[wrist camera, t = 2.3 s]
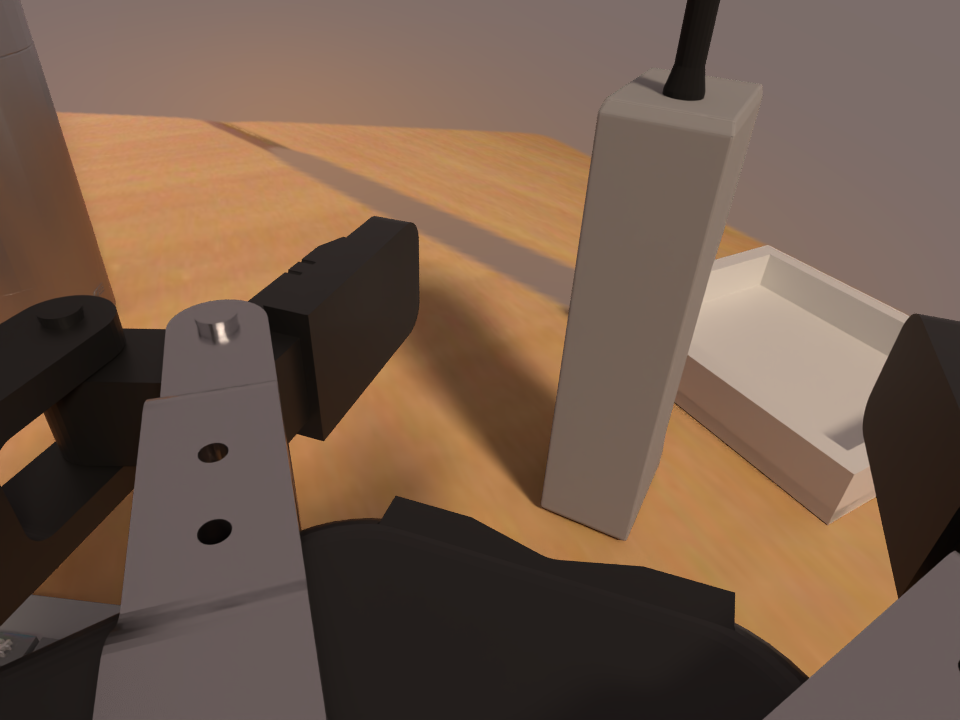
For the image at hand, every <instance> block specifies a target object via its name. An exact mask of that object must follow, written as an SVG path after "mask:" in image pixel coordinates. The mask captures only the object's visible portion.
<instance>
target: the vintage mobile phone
mask: <svg viewBox="0 0 960 720" xmlns="http://www.w3.org/2000/svg"><path fill="white" fill-rule="evenodd" d="M719 3H720V0H687V5H686V9H685V14H684V20H683V24H682V29H681V34H680V39H679V44H678V49H677V54H676V59H675V64H674V66H673V68H672V70H664V69H658V68H651V69H650V70H648V71H647V72H645V73H644V74H642V75H641V76H639V77H638V78H636V79H635V80H633V81H632V82H630V83H628V84H627V85H626V86H624V87H622V88H621V89H620V90H618V91H616V92H615V93H613V94H612V95H610V96H609V97H607V98H606V99H605V101H604V103H603V104H602V106H601V108H600V110H599V112H598V117H597V123H596V130H595V137H594V144H593V151H592V157H591V164H590V171H589V178H588V185H587V192H586V198H585V205H584V212H583V219H582V226H581V233H580V240H579V246H578V253H577V260H576V267H575V274H574V281H573V287H572V294H571V301H570V308H569V315H568V322H567V328H566V335H565V342H564V349H563V356H562V363H561V370H560V376H559V383H558V390H557V397H556V404H555V411H554V417H553V424H552V431H551V438H550V445H549V452H548V458H547V465H546V472H545V479H544V486H543V493H542V499H541V506H542V507H543V508H545V509H547V510H549V511H552V512H554V513H556V514H559V515H561V516H564V517H566V518H569V519H571V520H573V521H576V522H578V523H581V524H583V525H586V526H588V527H590V528H593V529H595V530H598V531H600V532H602V533H605V534H607V535H610V536H612V537H615V538H617V539H619V540H623V541H626V540H627V538H628V535H629V533H630V531H631V528H632V526H633V524H634V521H635V519H636V517H637V514H638V512H639V510H640V507H641V505H642V503H643V500H644V498H645V496H646V493H647V491H648V489H649V486H650V484H651V482H652V479H653V477H654V475H655V472H656V470H657V468H658V465H659V462H660V458H661V455H662V451H663V445H664V440H665V434H666V430H667V426H668V423H669V419H670V416H671V412H672V408H673V405H674V401H675V398H676V394H677V391H678V387H679V383H680V380H681V376H682V373H683V369H684V366H685V362H686V358H687V355H688V351H689V348H690V344H691V341H692V337H693V333H694V330H695V326H696V323H697V319H698V316H699V312H700V308H701V305H702V301H703V298H704V294H705V291H706V287H707V283H708V280H709V276H710V273H711V269H712V266H713V263H714V260H715V256H716V253H717V250H718V247H719V244H720V241H721V238H722V235H723V231H724V228H725V225H726V221H727V217H728V214H729V211H730V207H731V204H732V200H733V197H734V193H735V190H736V186H737V183H738V180H739V176H740V173H741V169H742V166H743V162H744V159H745V156H746V152H747V149H748V145H749V142H750V138H751V135H752V131H753V127H754V124H755V121H756V117H757V114H758V110H759V107H760V104H761V100H762V90H763V87H762V85H761V84H756V83H749V82H743V81H736V80H730V79H723V78H717V77H710V76H705V64H706V60H707V55H708V51H709V46H710V42H711V37H712V33H713V29H714V25H715V20H716V15H717V11H718V7H719Z"/></svg>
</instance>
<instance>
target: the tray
mask: <svg viewBox="0 0 960 720" xmlns="http://www.w3.org/2000/svg"><path fill="white" fill-rule="evenodd" d="M909 317H910V316H908V315H906V314H904V313H902V312H900V311H898V310H896V309H894V308H892V307H890V306H888V305H886V304H884V303H882V302H880V301H878V300H876V299H874V298H872V297H870V296H868V295H866V294H864V293H862V292H860V291H858V290H856V289H854V288H852V287H850V286H849V285H847V284H845V283H843V282H841V281H839V280H837V279H835V278H833V277H831V276H829V275H827V274H825V273H823V272H821V271H819V270H817V269H815V268H813V267H811V266H809V265H807V264H805V263H803V262H801V261H799V260H797V259H795V258H793V257H791V256H789V255H787V254H785V253H783V252H781V251H779V250H777V249H775V248H773V247H771V246H769V245H766V246H763V247H759V248H756V249H752V250H748V251H745V252H741V253H738V254H734V255H731V256H727V257H723V258H720V259H716V260H714V263H713V266H712V269H711V273H710V276H709V280H708V283H707V287H706V291H705V294H704V298H703V301H702V305H701V308H700V312H699V316H698V319H697V323H696V326H695V330H694V333H693V337H692V341H691V344H690V348H689V351H688V355H687V358H686V362H685V366H684V369H683V373H682V376H681V380H680V383H679V387H678V391H677V394H676V398H675V401H674V402H675V403H676V404H677V405H679V406H680V407H681V408H682V409H684V410H685V411H686V412H687V413H689V414H690V415H691V416H692V417H694V418H695V419H696V420H697V421H699V422H700V423H701V424H702V425H704V426H705V427H706V428H707V429H709V430H710V431H711V432H712V433H714V434H715V435H716V436H717V437H719V438H720V439H721V440H722V441H724V442H725V443H726V444H727V445H729V446H730V447H731V448H732V449H734V450H735V451H736V452H737V453H739V454H740V455H741V456H742V457H744V458H745V459H746V460H747V461H749V462H750V463H751V464H752V465H754V466H755V467H756V468H757V469H759V470H760V471H761V472H762V473H764V474H765V475H766V476H767V477H769V478H770V479H771V480H772V481H774V482H775V483H776V484H777V485H779V486H780V487H781V488H782V489H783V490H785V491H786V492H787V493H788V494H790V495H791V496H792V497H793V498H795V499H796V500H797V501H798V502H800V503H801V504H802V505H803V506H805V507H806V508H807V509H808V510H810V511H811V512H812V513H813V514H815V515H816V516H817V517H818V518H820V519H821V520H822V521H823V522H825V523H826V524H827V525H829V524H830V523H832V522H834V521H835V520H837V519H839V518H841V517H842V516H844V515H846V514H847V513H849V512H851V511H853V510H854V509H856V508H858V507H859V506H861V505H863V504H864V503H866V502H868V501H870V500H871V499H873V498H875V497H876V493H875V489H874V484H873V479H872V475H871V470H870V465H869V461H868V456H867V452H866V447H865V442H864V438H863V429H862V427H863V417H864V412H865V407H866V404H867V401H868V398H869V396H870V394H871V391H872V389H873V387H874V385H875V383H876V381H877V379H878V377H879V375H880V372H881V370H882V368H883V366H884V364H885V362H886V360H887V358H888V356H889V354H890V351H891V349H892V347H893V345H894V343H895V341H896V339H897V337H898V335H899V332H900V330H901V328H902V327H903V325H904V323H905V322H906V320H907V319H908V318H909Z"/></svg>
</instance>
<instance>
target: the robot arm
mask: <svg viewBox="0 0 960 720" xmlns="http://www.w3.org/2000/svg"><path fill="white" fill-rule="evenodd" d="M418 310H419V236H418V230H417V227H416V225H415V224H414V223H411V222H405V221H400V220H394V219H388V218H383V217H377V216H373V217H371V218H370V219H368V220H367V221H366V222H365V223H364V224H362V225H361V226H360V227H359V228H357V229H356V230H355V231H354V232H352V233H351V234H350V235H349V236H348V237H342V238H339V239H336V240H334V241H331V242H328V243H326V244H323V245H321V246H318V247H317V248H316V249H314V250H313V251H312V252H310V253H309V254H308V255H307V256H305V257H304V258H303V259H302V262H298V263H296V264H295V265H294V266H293V267H291V268H290V269H289V270H288V273H284V274H282V275H281V276H280V277H278V278H277V279H276V280H275V281H273V282H272V283H271V284H270V285H268V286H267V287H266V288H264V289H263V290H262V291H261V292H259V293H258V294H257V295H255V296H254V297H253V298H252V299H250V300H249V301H248V302H247V301H242V300H216V301H209V302H205V303H201V304H198V305H195V306H192V307H190V308H187V309H185V310H183V311H182V312H180V313H178V314H177V315H176V316H174V317H173V318H172V319H171V320H170V321H169V323H168V325H167V327H166V329H122V326H121V322H120V319H119V316H118V313H117V310H116V307H115V298H114V295H113V292H112V288H111V285H110V282H109V279H108V276H107V273H106V270H105V266H104V263H103V260H102V257H101V254H100V251H99V247H98V244H97V240H96V237H95V234H94V231H93V227H92V224H91V221H90V218H89V215H88V212H87V209H86V205H85V202H84V199H83V196H82V193H81V190H80V186H79V183H78V180H77V177H76V174H75V171H74V168H73V164H72V161H71V158H70V155H69V152H68V149H67V145H66V142H65V139H64V136H63V133H62V130H61V127H60V123H59V120H58V117H57V114H56V111H55V108H54V104H53V101H52V98H51V95H50V92H49V89H48V86H47V83H46V79H45V76H44V73H43V70H42V67H41V63H40V61H39V58H38V54H37V51H36V48H35V45H34V42H33V40H32V36H31V33H30V30H29V27H28V23H27V20H26V17H25V14H24V11H23V8H22V5H21V1H20V0H0V450H1V448H2V447H3V445H4V444H5V443H6V442H7V441H8V440H9V439H10V438H11V437H13V436H14V435H15V434H16V433H18V432H19V431H20V430H22V429H23V428H24V427H25V426H27V425H28V424H29V423H31V422H32V421H33V420H34V419H36V418H37V417H38V416H40V415H41V414H42V413H44V415H45V417H46V420H47V422H48V424H49V427H50V429H51V431H52V433H53V436H54V438H55V440H56V442H54V443H53V444H52V445H51V446H50V447H48V448H47V449H46V450H45V451H44V452H42V453H41V454H40V455H39V456H38V457H36V458H35V459H34V460H33V461H32V462H30V463H29V464H28V465H27V466H26V467H24V468H23V469H22V470H21V471H20V472H19V473H17V474H16V475H15V476H14V477H13V478H11V479H10V480H9V481H8V482H7V483H5V484H4V485H3V486H2V487H1V486H0V626H1V625H2V624H3V623H4V622H5V621H6V620H7V619H8V618H9V617H10V616H11V615H12V614H13V613H14V612H15V611H16V610H17V609H18V608H19V607H20V606H21V605H22V604H23V603H24V602H25V601H26V599H27V598H28V597H29V596H30V595H31V594H32V593H33V592H34V591H35V590H36V589H37V588H38V587H39V586H40V585H41V584H42V583H43V582H44V581H45V580H46V579H47V578H48V577H49V576H50V575H51V574H52V573H53V572H54V571H55V570H56V568H57V567H58V566H59V565H60V564H61V563H62V562H63V561H64V560H65V559H66V558H67V557H68V556H69V555H70V554H71V553H72V552H73V551H74V550H75V549H76V548H77V547H78V546H79V545H80V544H81V543H82V542H83V541H84V540H85V538H86V537H87V536H88V535H89V534H90V533H91V532H92V531H93V530H94V529H95V528H96V527H97V526H98V525H99V524H100V523H101V522H102V521H103V520H104V519H105V518H106V517H107V516H108V515H109V514H110V513H111V512H112V511H113V510H114V508H115V507H116V506H117V505H118V504H119V503H120V502H121V501H122V500H123V499H124V498H125V497H126V496H127V495H128V494H129V493H130V492H131V491H132V490H133V489H134V493H133V502H132V511H131V520H130V529H129V538H128V546H127V555H126V564H125V573H124V582H123V591H122V600H121V608H120V612H119V613H117V614H115V615H113V616H111V617H108V618H106V619H104V620H102V621H100V622H97V623H95V624H93V625H91V626H89V627H86V628H84V629H82V630H80V631H78V632H75V633H73V634H71V635H69V636H67V637H64V638H62V639H60V640H58V641H56V642H53V643H51V644H49V645H47V646H45V647H43V648H40V649H38V650H36V651H34V652H32V653H29V654H27V655H25V656H23V657H21V658H18V659H16V660H14V661H12V662H10V663H7V664H5V665H3V666H1V667H0V720H960V321H954V320H949V319H943V318H937V317H932V316H926V315H921V314H913V315H911V316H910V317H909V318H908V319H907V320H906V322H905V323H904V325H903V327H902V328H901V330H900V332H899V335H898V337H897V339H896V341H895V343H894V345H893V347H892V349H891V351H890V354H889V356H888V358H887V360H886V362H885V364H884V366H883V368H882V370H881V372H880V375H879V377H878V379H877V381H876V383H875V385H874V387H873V389H872V391H871V394H870V396H869V398H868V401H867V404H866V407H865V412H864V417H863V427H862V429H863V438H864V442H865V447H866V452H867V456H868V461H869V465H870V470H871V475H872V479H873V484H874V489H875V493H876V498H877V502H878V507H879V512H880V516H881V521H882V526H883V530H884V535H885V539H886V544H887V549H888V553H889V558H890V563H891V567H892V572H893V576H894V581H895V586H896V590H897V595H898V600H897V601H896V602H894V603H893V604H892V605H891V606H890V607H889V608H888V609H887V610H885V611H884V612H883V613H882V614H881V615H880V616H879V617H878V618H876V619H875V620H874V621H873V622H872V623H871V624H870V625H869V626H867V627H866V628H865V629H864V630H863V631H862V632H861V633H860V634H858V635H857V636H856V637H855V638H854V639H853V640H852V641H851V642H849V643H848V644H847V645H846V646H845V647H844V648H843V649H842V650H840V651H839V652H838V653H837V654H836V655H835V656H834V657H833V658H832V659H830V660H829V661H828V662H827V663H826V664H825V665H824V666H823V667H821V668H820V669H819V670H818V671H817V672H816V673H815V674H814V675H812V676H811V677H810V678H809V677H808V676H807V675H806V674H805V673H804V672H802V671H801V670H800V669H799V668H798V667H797V666H796V665H795V664H794V663H793V662H792V661H791V660H789V659H788V658H787V657H786V656H784V655H783V654H782V653H780V652H779V651H778V650H777V649H775V648H774V647H773V646H772V645H770V644H769V643H767V642H766V641H764V640H763V639H761V638H760V637H758V636H757V635H755V634H753V633H752V632H750V631H749V630H747V629H745V628H744V627H742V626H740V625H738V624H736V623H734V618H735V593H734V592H731V591H727V590H724V589H720V588H717V587H713V586H710V585H706V584H703V583H699V582H696V581H692V580H689V579H685V578H682V577H678V576H675V575H671V574H668V573H664V572H661V571H657V570H654V569H650V568H647V567H643V566H630V565H617V564H604V563H591V562H578V561H565V560H555V559H551V558H547V557H545V556H543V555H540V554H538V553H537V552H535V551H533V550H531V549H529V548H527V547H526V546H524V545H522V544H520V543H518V542H516V541H514V540H513V539H511V538H509V537H507V536H505V535H503V534H501V533H500V532H498V531H496V530H494V529H492V528H490V527H488V526H487V525H485V524H483V523H481V522H479V521H477V520H475V519H474V518H472V517H468V516H465V515H461V514H458V513H454V512H451V511H447V510H444V509H440V508H437V507H433V506H430V505H426V504H423V503H419V502H416V501H412V500H409V499H405V498H402V497H398V496H395V498H394V499H393V501H392V503H391V504H390V506H389V508H388V509H387V511H386V513H385V514H384V516H383V518H382V519H378V518H363V519H349V520H341V521H334V522H330V523H325V524H321V525H317V526H313V527H310V528H307V529H304V530H302V527H301V521H300V514H299V508H298V501H297V495H296V488H295V482H294V475H293V469H292V462H291V456H290V450H289V444H288V443H289V442H290V441H291V440H292V439H293V437H294V436H295V435H296V434H299V435H303V436H306V437H310V438H314V439H317V440H321V441H324V440H325V439H326V438H327V437H328V435H329V434H330V433H331V432H332V430H333V429H334V428H335V427H336V425H337V424H338V423H339V422H340V420H341V419H342V418H343V417H344V415H345V414H346V413H347V412H348V410H349V409H350V408H351V407H352V405H353V404H354V403H355V402H356V400H357V399H358V398H359V397H360V395H361V394H362V393H363V392H364V390H365V389H366V388H367V387H368V385H369V384H370V383H371V382H372V380H373V379H374V378H375V377H376V375H377V374H378V373H379V372H380V370H381V369H382V368H383V367H384V365H385V364H386V363H387V362H388V360H389V359H390V358H391V357H392V355H393V354H394V353H395V352H396V350H397V349H398V348H399V347H400V345H401V344H402V343H403V342H404V340H405V339H406V338H407V337H408V335H409V334H410V333H411V331H412V329H413V327H414V325H415V322H416V319H417V315H418Z"/></svg>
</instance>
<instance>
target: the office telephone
mask: <svg viewBox="0 0 960 720" xmlns="http://www.w3.org/2000/svg"><path fill="white" fill-rule="evenodd" d="M120 608H121V605H114V604H105V603H97V602H89V601H80V600H72V599H63V598H55V597H47V596H38V595H30V596H29V597H28V598H27V599H26V601H25V602H24V603H23V604H22V605H21V606H20V607H19V608H18V609H17V610H16V611H15V612H14V613H13V614H12V615H11V616H10V617H9V618H8V619H7V620H6V621H5V622H4V623H3V624H2V625H1V626H0V667H1V666H3V665H5V664H7V663H10V662H12V661H14V660H16V659H18V658H21V657H23V656H25V655H27V654H29V653H32V652H34V651H36V650H38V649H40V648H43V647H45V646H47V645H49V644H51V643H53V642H56V641H58V640H60V639H62V638H64V637H67V636H69V635H71V634H73V633H75V632H78V631H80V630H82V629H84V628H86V627H89V626H91V625H93V624H95V623H97V622H100V621H102V620H104V619H106V618H108V617H111V616H113V615H115V614H117V613H119V612H120Z"/></svg>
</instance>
